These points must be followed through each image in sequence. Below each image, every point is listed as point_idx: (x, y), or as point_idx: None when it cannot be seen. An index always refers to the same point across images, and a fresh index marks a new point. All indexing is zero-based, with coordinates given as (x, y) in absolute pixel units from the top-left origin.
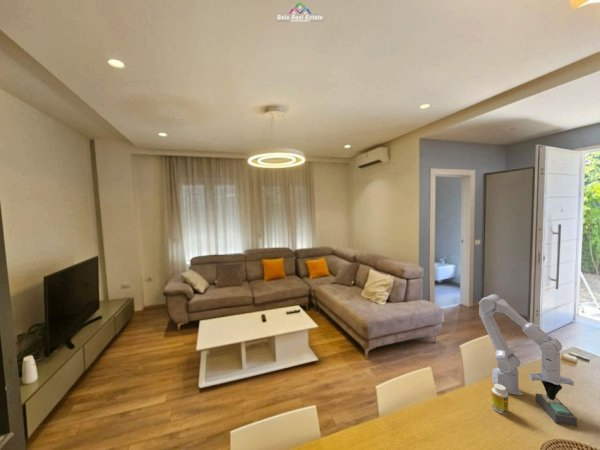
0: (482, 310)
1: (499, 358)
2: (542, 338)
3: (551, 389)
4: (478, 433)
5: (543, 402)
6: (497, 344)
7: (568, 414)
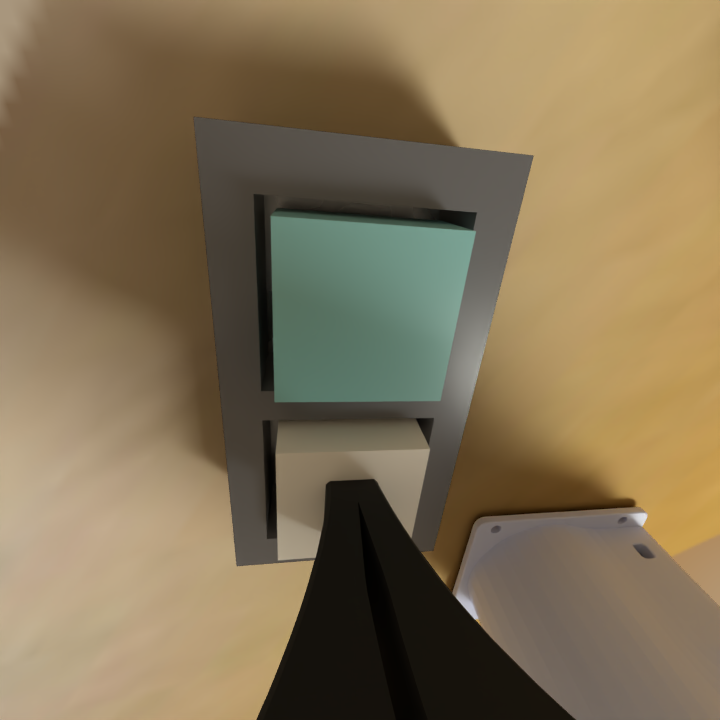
0: None
1: None
2: None
3: (471, 692)
4: None
5: (459, 427)
6: None
7: (292, 210)
